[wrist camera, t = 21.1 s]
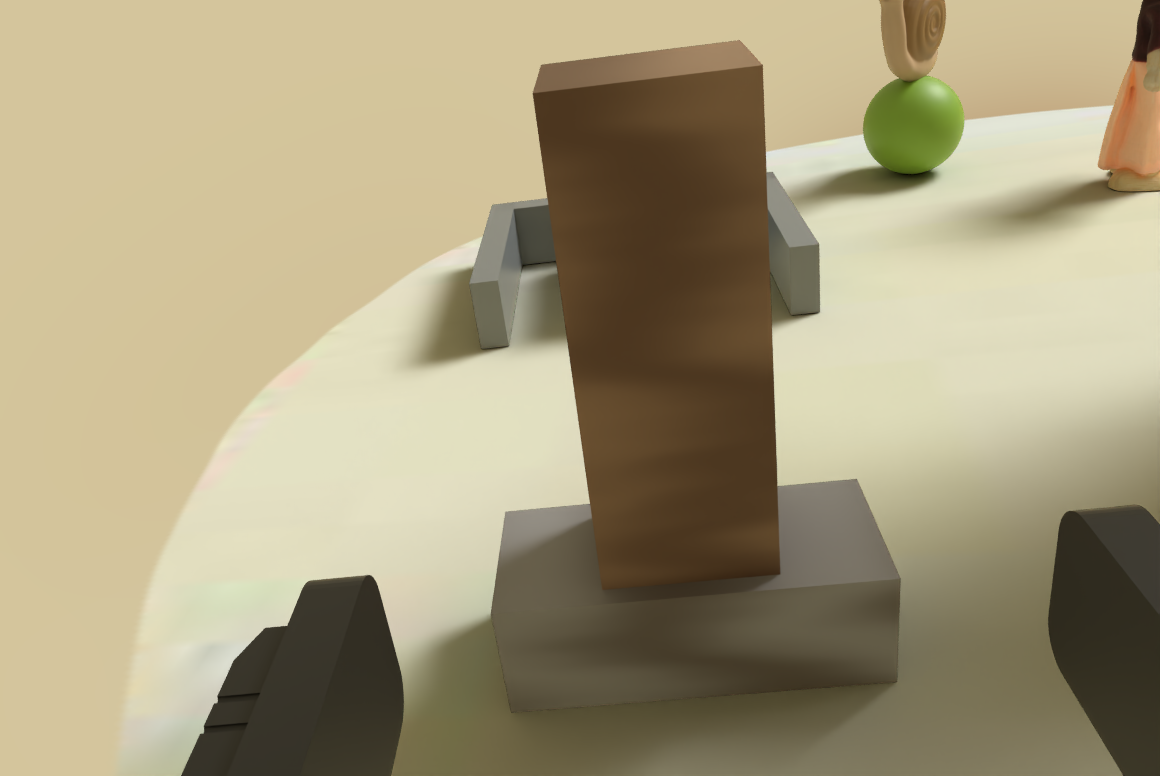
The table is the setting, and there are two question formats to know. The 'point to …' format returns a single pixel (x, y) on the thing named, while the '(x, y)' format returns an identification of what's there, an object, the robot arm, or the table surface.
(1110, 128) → the grandmother figurine
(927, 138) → the snail figurine
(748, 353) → the tall wooden pillar
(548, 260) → the grey u-shaped wall
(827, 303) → the table surface
